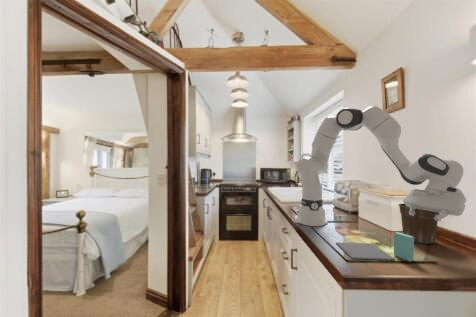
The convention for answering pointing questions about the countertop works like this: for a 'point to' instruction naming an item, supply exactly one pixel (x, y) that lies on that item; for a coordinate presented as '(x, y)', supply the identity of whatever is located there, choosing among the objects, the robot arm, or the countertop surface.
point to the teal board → (404, 246)
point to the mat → (364, 251)
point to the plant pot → (419, 224)
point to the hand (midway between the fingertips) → (423, 217)
